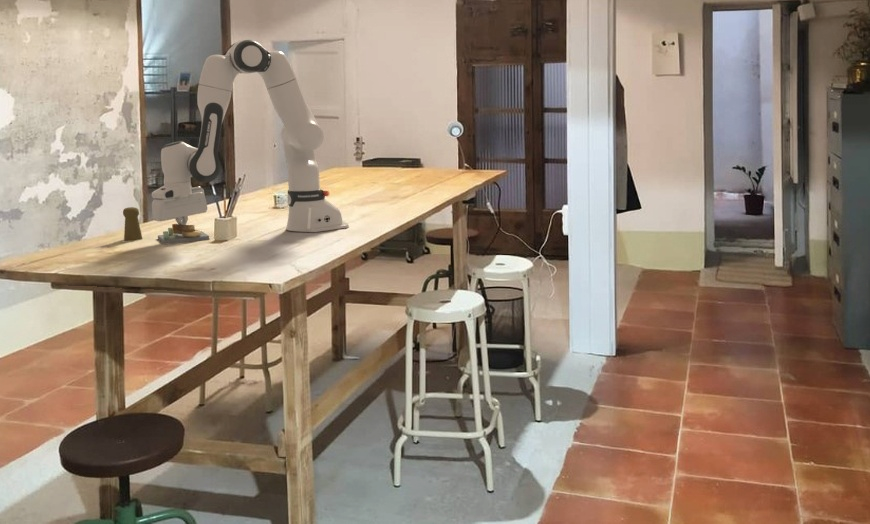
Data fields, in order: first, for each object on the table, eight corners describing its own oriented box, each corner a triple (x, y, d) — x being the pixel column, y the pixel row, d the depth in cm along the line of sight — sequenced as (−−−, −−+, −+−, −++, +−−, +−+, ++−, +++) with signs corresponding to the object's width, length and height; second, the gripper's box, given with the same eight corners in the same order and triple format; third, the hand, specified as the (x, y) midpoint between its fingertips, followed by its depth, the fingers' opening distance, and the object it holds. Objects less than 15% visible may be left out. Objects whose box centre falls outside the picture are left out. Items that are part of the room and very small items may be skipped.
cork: (136, 237, 311) (133, 205, 309) (146, 238, 307) (143, 207, 305) (120, 239, 307) (117, 207, 304) (130, 241, 303) (127, 209, 301)
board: (201, 234, 314) (200, 224, 313) (209, 239, 304) (208, 228, 303) (157, 238, 307) (157, 228, 306) (164, 243, 297) (163, 232, 297)
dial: (204, 234, 305) (203, 223, 304) (193, 237, 299) (192, 226, 299) (179, 233, 308) (178, 222, 308) (168, 236, 303) (167, 225, 302)
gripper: (197, 185, 313) (202, 224, 316) (147, 193, 297) (152, 234, 300) (208, 186, 309) (213, 225, 312) (158, 194, 293) (163, 236, 296)
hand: (182, 229), depth 306 cm, fingers closed, pressing on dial
